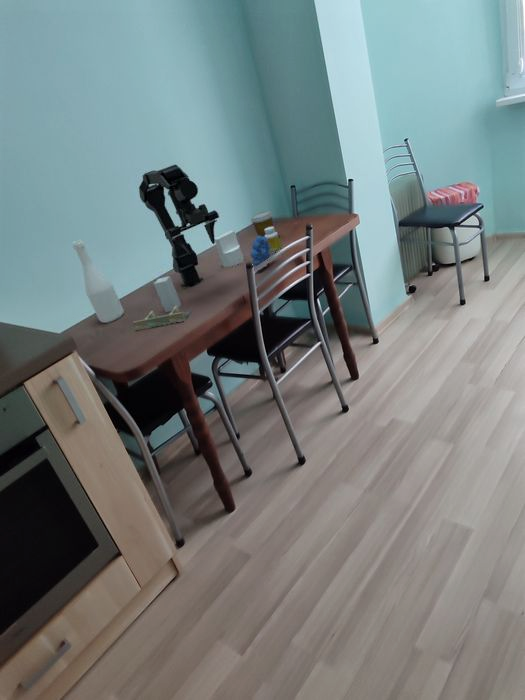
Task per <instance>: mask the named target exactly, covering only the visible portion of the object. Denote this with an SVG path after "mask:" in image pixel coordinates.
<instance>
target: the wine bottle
mask: <svg viewBox="0 0 525 700" xmlns="http://www.w3.org/2000/svg"><path fill="white" fill-rule="evenodd" d="M72 247H73V249H74V250H75V251H76V253H77V256H78V258H79V260H80V262H81V266H82V269H83V277H84V286H85V292H86V296H87V298H88V299H89V303H90V304H91V306H92V308H93V310H94V312H95V314H96V316H97V318H98V320H99V321H100V322H101V323H104V324H105V323H106V324H107V323H111V322H114V321H116V320H118V319H120V318H121V317H122V316H123V315H124V313H125V311H124V307H123V306H122V304H121V303H122V302H120V298H119V297H118V294H117V293H116V289H115V288H114V286H113V284H112V283H111V281H110V280H109V279H108V278H107V276H105V275H104V273H103V272H102V271H101V270H100V269H99V268H98V267H97V266H96V265H95V263H94V262H93V261H92V258H91V257H90V255H89V253H88V251H87V249H86V247H85V242H84V241H82V239H78V240H75V241H73V242H72Z"/></svg>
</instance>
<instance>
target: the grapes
mask: <svg viewBox="0 0 525 700" xmlns="http://www.w3.org/2000/svg"><path fill="white" fill-rule="evenodd" d="M267 241H268V240H267V238H266V237H261V236H258V235H257V236H256V238H255V240H253V242H252V243H251V248H252V250H251V251H250V255H249V256H250V257H251V258H252V265H253V266H254V267H255V266H257V265H259V264H260V263H262V262H263V261H265V260H266V259H268V258H269V257H270V256H271V257H272V254H271V253H269V250H270V248H271V246H270V244H269V243H267ZM268 266H269V264H268V265H267V266H266V267H265V268H267V267H268ZM262 270H263V269H261V270H260V271H262Z"/></svg>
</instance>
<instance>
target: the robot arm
mask: <svg viewBox="0 0 525 700" xmlns="http://www.w3.org/2000/svg"><path fill="white" fill-rule="evenodd" d="M138 189H139V191H138V192H139V198H140V201H141V202H142V203H144V205H145V206H146V208H147V209H149V211H152V212H153V213H154V215H155V216H156V219H157V221H158V222H159V224H160V226H161V228H162V230H163V232H164V236H165V238H166V240H168V242H169V244H170V246H171V257H172V259H173V260H172V268H173V270H174V272H176V273H177V274H180V277H181V279H182V282H183V283H182V284H181V285H180V286H181V287H193V286H195V285H196V284H197V283H199V282H201V281H202V280H203V277H200V276H199V273H198V271H197V268H196V266H198V265H199V262H198V261H199V260H198V256H197V255H198V254H197V252H195V250H194V249H193V248H192V246H191V244H190V243H188V242H187V240H186V239H185V234H184V233H183V232H184V231H188V230H189V229H192V228H194V227H197V226H199V225H201V224H204V223H205V224H204V228H205V230H206V233H207V235H208V237H209V240H210V242H211V243H212V245H214V244H215V245H216V243H215V224H216V222H218V220H217V219H219V218H220V216H219V213H218V211H217V210H211V211H210V212H209V211H208V208H207V206H206V204H204V203H202V204H199V205H198V207H197V208H196V205H195V204H194V203H192V200H193V199H194V198H196V197H197V195H198V194H199V188H198V185H197V184H196V183H195V182H194V181H192V180H190V178H189V175H188V174H186V172H184V171H183V169H182V168H181V167H180V166H179V165H177V164H172V165H169V166H168V167H165V168H162V169H159V170H156V169H155V170H151V171H148V172H144V174H143V175H142V181H141V183H140V185H139V187H138ZM165 189H166V190H168V191H167V195H168V196H169V197H170V199H171V202H172V203H173V207H174V208H175V213H176V215H178V217H179V220H180V222H181V223H180V225H181V226H179V225H175V223H174V221H173V219H172V217H171V215H170V213H169V211H168V209H167V207H166V196H165ZM182 233H183V234H182Z"/></svg>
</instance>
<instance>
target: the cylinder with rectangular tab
mask: <svg viewBox="0 0 525 700" xmlns="http://www.w3.org/2000/svg"><path fill="white" fill-rule="evenodd" d="M214 239H215V245H216V248H217V251H218V255H219V258H220V261H221V264H222V267H223V268H225V267H228V268H232V266H233V267H236V266H238V265H237V264H239V263H241V262H242V263H244V261H245V258H244V255H243V252H242V249H241V245H240V244H239V242H238V241H239V240H238V237H237V235H236V231H235V230H230V231H227V232H226V233H224V234H222V235H220V236H217V237H214ZM243 260H244V261H243ZM242 263H241V264H242ZM235 265H236V266H235ZM239 265H240V264H239Z"/></svg>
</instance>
